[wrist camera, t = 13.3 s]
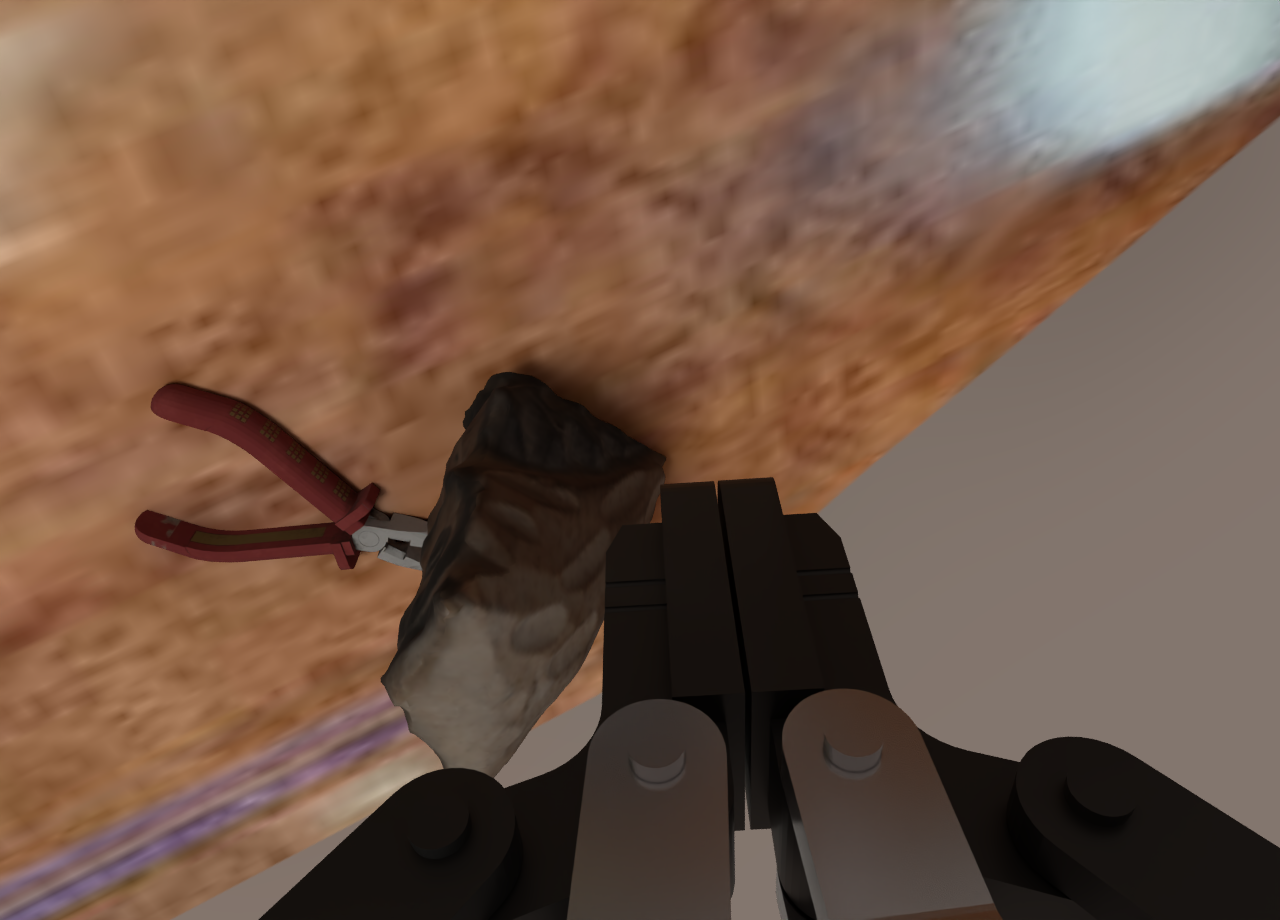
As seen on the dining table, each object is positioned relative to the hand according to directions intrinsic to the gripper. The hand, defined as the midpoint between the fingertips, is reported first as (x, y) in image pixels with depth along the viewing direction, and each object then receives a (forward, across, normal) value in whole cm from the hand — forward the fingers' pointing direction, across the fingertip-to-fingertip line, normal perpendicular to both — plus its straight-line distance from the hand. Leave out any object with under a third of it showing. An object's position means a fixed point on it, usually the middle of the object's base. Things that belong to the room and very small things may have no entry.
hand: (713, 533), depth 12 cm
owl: (+35, +7, +23) cm, 43 cm away
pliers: (+36, +24, +26) cm, 50 cm away
